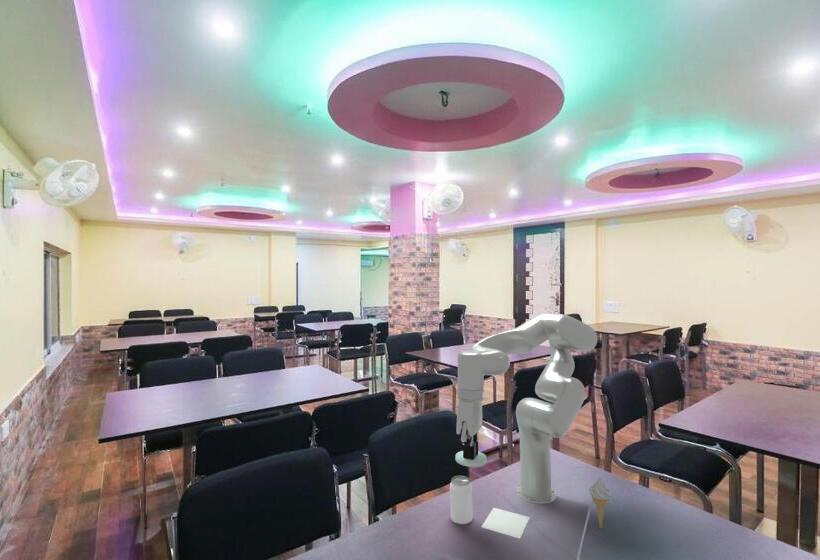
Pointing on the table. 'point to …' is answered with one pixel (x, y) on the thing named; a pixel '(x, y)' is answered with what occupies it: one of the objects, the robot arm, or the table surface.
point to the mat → (506, 522)
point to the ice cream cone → (600, 498)
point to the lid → (478, 460)
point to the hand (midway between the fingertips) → (470, 456)
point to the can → (461, 500)
